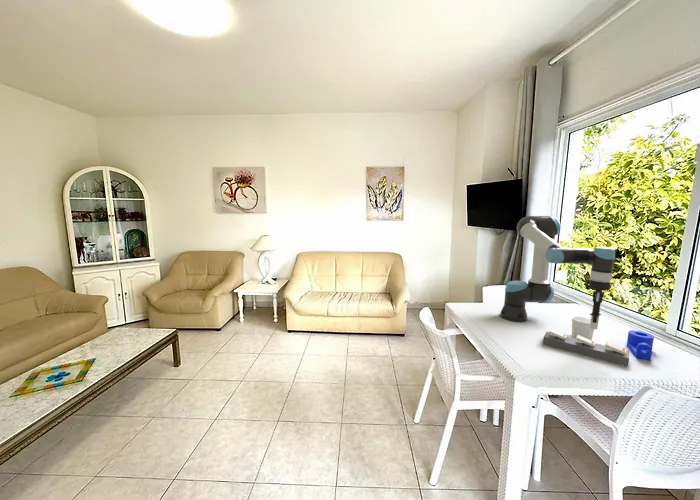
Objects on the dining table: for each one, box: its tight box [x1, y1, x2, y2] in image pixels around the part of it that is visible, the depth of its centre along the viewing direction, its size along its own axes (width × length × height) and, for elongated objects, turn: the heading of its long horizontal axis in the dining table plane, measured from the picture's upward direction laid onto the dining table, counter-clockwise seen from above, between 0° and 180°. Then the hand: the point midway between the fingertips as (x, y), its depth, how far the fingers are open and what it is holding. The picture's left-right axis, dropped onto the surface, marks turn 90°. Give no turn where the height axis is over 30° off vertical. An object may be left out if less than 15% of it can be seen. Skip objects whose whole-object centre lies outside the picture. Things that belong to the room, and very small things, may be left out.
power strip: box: [542, 331, 630, 367], centre depth 143 cm, size 32×9×5 cm, turn 48°
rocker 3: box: [605, 341, 627, 355], centre depth 135 cm, size 7×4×1 cm, turn 48°
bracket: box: [626, 329, 655, 362], centre depth 143 cm, size 20×9×8 cm, turn 141°
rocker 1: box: [548, 328, 568, 340], centre depth 150 cm, size 7×4×1 cm, turn 48°
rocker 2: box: [575, 335, 596, 347], centre depth 142 cm, size 7×4×1 cm, turn 48°
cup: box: [571, 316, 595, 341], centre depth 159 cm, size 10×10×10 cm
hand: (593, 328), depth 140 cm, fingers closed
